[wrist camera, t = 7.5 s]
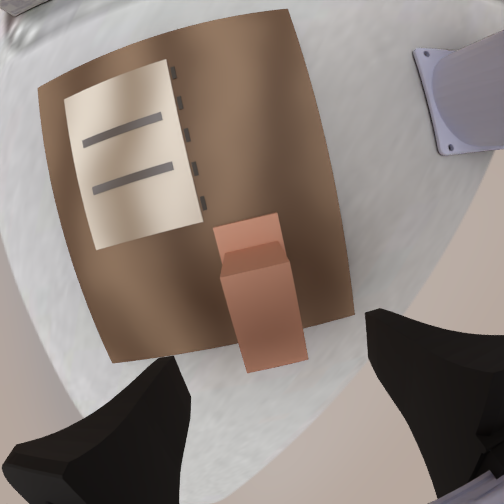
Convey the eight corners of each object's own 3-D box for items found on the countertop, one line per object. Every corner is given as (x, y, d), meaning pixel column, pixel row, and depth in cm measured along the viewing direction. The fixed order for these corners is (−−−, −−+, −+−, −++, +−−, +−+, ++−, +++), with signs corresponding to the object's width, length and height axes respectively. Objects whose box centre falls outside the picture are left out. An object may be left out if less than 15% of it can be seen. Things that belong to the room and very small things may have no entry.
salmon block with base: (276, 212, 17) (289, 225, 13) (302, 336, 19) (318, 380, 15) (213, 226, 18) (203, 245, 13) (246, 349, 19) (248, 396, 15)
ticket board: (285, 17, 16) (288, 6, 14) (349, 307, 21) (356, 316, 19) (46, 91, 16) (35, 87, 15) (117, 355, 21) (111, 365, 20)
